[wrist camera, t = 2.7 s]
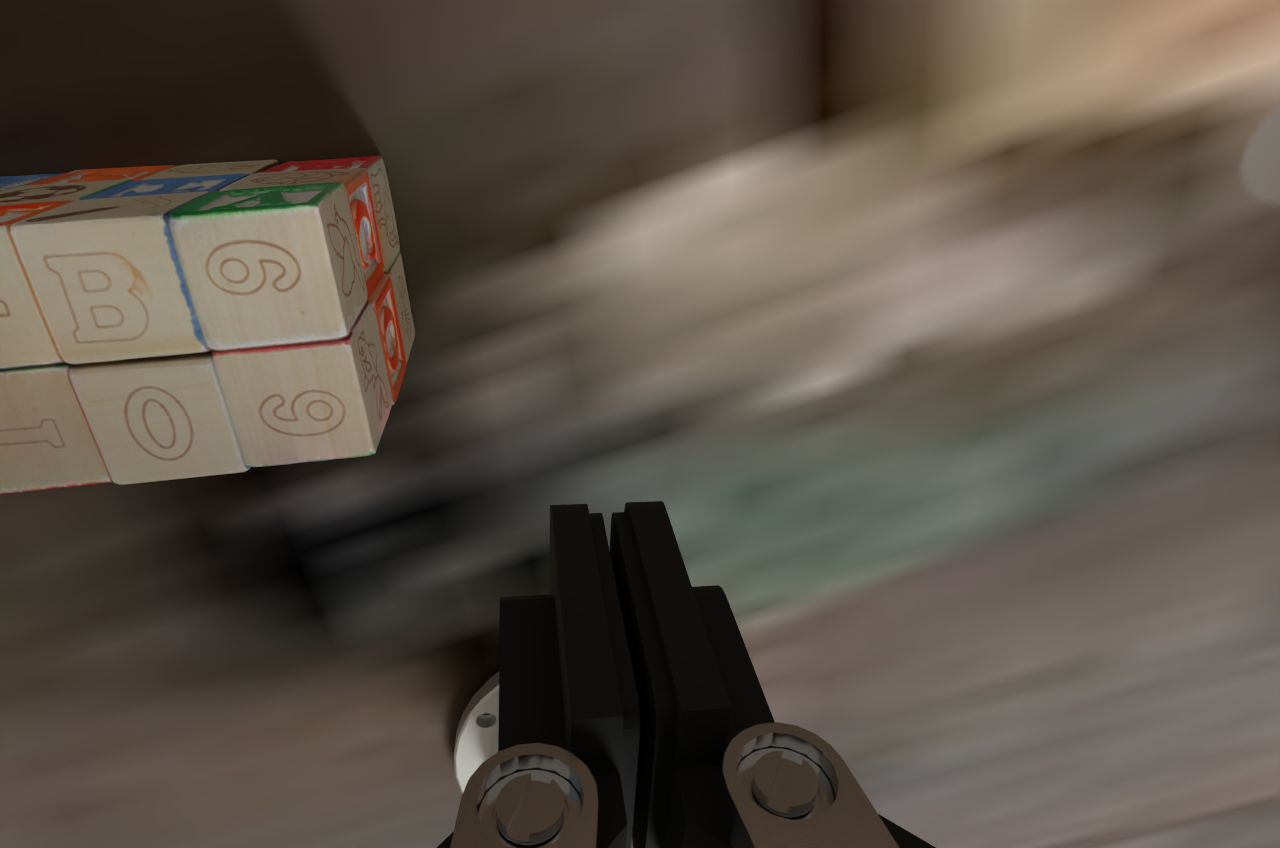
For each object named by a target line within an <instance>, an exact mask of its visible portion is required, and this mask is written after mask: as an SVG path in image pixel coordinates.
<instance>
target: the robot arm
mask: <svg viewBox="0 0 1280 848" xmlns="http://www.w3.org/2000/svg"><path fill="white" fill-rule="evenodd" d="M454 768H455V776H456V779H457V782H458V785H459V787H460V790H461V793H462V794H463V795H462V798H461V802H460V806H459V811H458V815H457V819H456V824H455V828H454V832H453V833H452V834H451V835H450V836H449V837H447V838H446V839H445V840H444V841H443V842H442V843H441V844H440V845H439V846H438V847H437V848H935V847H934V846H932V845H930V844H929V843H927V842H925V841H923V840H922V839H920V838H918V837H917V836H915V835H913V834H911V833H910V832H908V831H906V830H905V829H903V828H901V827H900V826H898V825H896V824H894V823H893V822H891V821H889V820H888V819H886V818H884V817H882V816H881V815H879V814H878V813H877V812H876V810H875V809H874V807H873V806H872V804H871V803H870V801H869V799H868V798H867V796H866V795H865V793H864V792H863V790H862V788H861V787H860V785H859V784H858V782H857V781H856V779H855V777H854V776H853V774H852V773H851V771H850V770H849V768H848V767H847V765H846V763H845V762H844V760H843V759H842V758H841V757H840V755H839V754H838V753H837V752H836V751H835V750H834V748H833V747H832V746H831V745H830V744H828V743H827V742H826V741H824V740H823V739H822V738H820V737H819V736H817V735H816V734H815V733H812V732H810V731H808V730H805V729H803V728H800V727H798V726H795V725H789V724H783V723H775V722H774V719H773V717H772V714H771V712H770V709H769V706H768V704H767V701H766V699H765V696H764V693H763V691H762V688H761V686H760V683H759V680H758V678H757V675H756V673H755V670H754V667H753V665H752V662H751V660H750V657H749V655H748V652H747V649H746V647H745V644H744V642H743V639H742V636H741V634H740V631H739V629H738V626H737V623H736V621H735V618H734V616H733V613H732V610H731V608H730V605H729V603H728V600H727V597H726V595H725V593H724V591H723V589H722V588H721V587H720V586H701V587H692V586H691V583H690V580H689V577H688V574H687V571H686V568H685V565H684V562H683V559H682V556H681V553H680V550H679V547H678V544H677V541H676V538H675V535H674V532H673V529H672V526H671V523H670V520H669V517H668V514H667V511H666V508H665V505H664V503H663V502H662V501H655V502H628V503H626V504H625V509H624V512H619V513H612V518H611V536H610V551H609V546H608V541H607V536H606V531H605V526H604V521H603V516H602V513H592V514H589V510H588V505H587V504H573V505H550V595H536V596H518V597H500V639H499V672H497V673H496V674H495V675H493V676H492V677H491V678H490V679H489V680H488V681H487V682H486V683H485V684H484V685H483V686H482V687H481V688H480V689H479V690H478V691H477V692H476V693H475V694H474V696H473V697H472V699H471V700H470V702H469V704H468V705H467V707H466V708H465V710H464V712H463V713H462V716H461V719H460V722H459V725H458V728H457V731H456V739H455V748H454Z"/></svg>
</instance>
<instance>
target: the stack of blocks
mask: <svg viewBox="0 0 1280 848" xmlns="http://www.w3.org/2000/svg"><path fill="white" fill-rule="evenodd" d="M414 338H415V329H414V324H413V319H412V313H411V308H410V302H409V296H408V291H407V285H406V280H405V274H404V268H403V263H402V257H401V254H400V244H399V237H398V231H397V225H396V219H395V213H394V208H393V203H392V198H391V193H390V188H389V183H388V178H387V174H386V170H385V166H384V162H383V159H382V157H381V156H367V157H354V158H340V159H324V160H307V161H291V162H286V163H280V162H279V161H277V160H258V161H238V162H221V163H203V164H187V165H180V166H175V165H159V166H141V167H122V168H103V169H82V170H75V171H72V172H68V173H59V174H39V175H22V176H0V495H1V494H10V493H20V492H29V491H38V490H47V489H57V488H66V487H76V486H86V485H95V484H104V483H109V482H114V483H116V484H119V485H125V484H134V483H144V482H154V481H163V480H173V479H183V478H192V477H201V476H211V475H220V474H229V473H239V472H245V471H247V470H249V469H250V468H251V467H262V466H275V465H285V464H294V463H301V462H313V461H326V460H331V459H342V458H352V457H362V456H369V455H373V454H375V453H376V450H377V447H378V445H379V442H380V439H381V436H382V433H383V430H384V428H385V425H386V422H387V419H388V416H389V413H390V409H391V408H392V405H394V404H395V402H396V399H397V397H398V394H399V390H400V387H401V384H402V381H403V377H404V374H405V371H406V365H407V363H408V358H409V354H410V351H411V348H412V344H413V341H414Z"/></svg>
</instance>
